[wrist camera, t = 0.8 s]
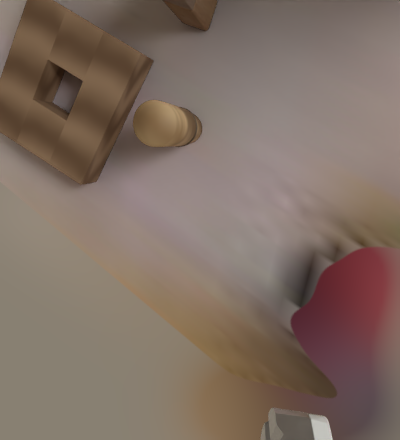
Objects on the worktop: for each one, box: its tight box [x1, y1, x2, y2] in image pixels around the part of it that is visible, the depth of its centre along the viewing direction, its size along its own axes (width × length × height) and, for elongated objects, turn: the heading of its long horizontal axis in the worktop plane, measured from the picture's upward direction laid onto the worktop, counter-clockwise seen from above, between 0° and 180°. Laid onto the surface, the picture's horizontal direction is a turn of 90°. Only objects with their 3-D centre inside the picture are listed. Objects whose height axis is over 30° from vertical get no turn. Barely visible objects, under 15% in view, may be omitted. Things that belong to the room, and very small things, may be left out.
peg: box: [133, 100, 202, 147], centre depth 40 cm, size 4×4×12 cm
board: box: [0, 0, 153, 185], centre depth 47 cm, size 18×16×4 cm
